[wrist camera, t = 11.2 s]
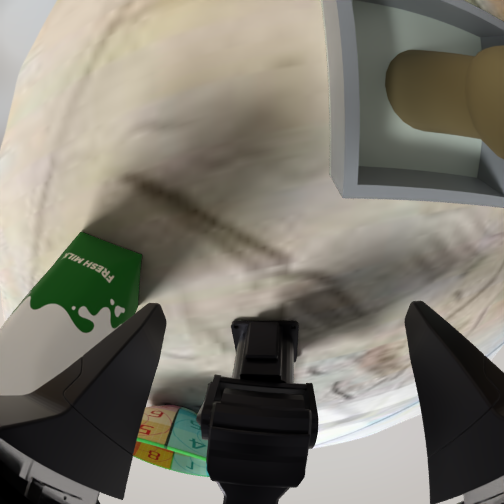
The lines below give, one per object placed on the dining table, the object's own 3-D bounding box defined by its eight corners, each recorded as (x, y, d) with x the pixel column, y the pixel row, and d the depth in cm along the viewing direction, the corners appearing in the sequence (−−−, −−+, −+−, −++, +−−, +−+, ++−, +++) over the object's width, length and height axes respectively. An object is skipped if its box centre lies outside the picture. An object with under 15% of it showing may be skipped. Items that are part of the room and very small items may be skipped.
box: (478, 185, 17) (509, 208, 13) (329, 174, 18) (342, 198, 14) (482, 32, 9) (516, 30, 6) (319, -10, 11) (330, -36, 7)
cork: (462, 74, 12) (577, 93, 3) (445, 144, 15) (552, 208, 6) (393, 35, 12) (501, 3, 2) (375, 112, 15) (480, 149, 6)
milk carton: (79, 286, 27) (-9, 429, 10) (74, 218, 22) (-65, 381, 5) (145, 314, 28) (74, 485, 11) (153, 248, 23) (33, 471, 6)
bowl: (221, 442, 49) (215, 481, 41) (123, 409, 47) (109, 448, 38) (263, 410, 38) (257, 468, 29) (122, 363, 35) (98, 420, 26)
